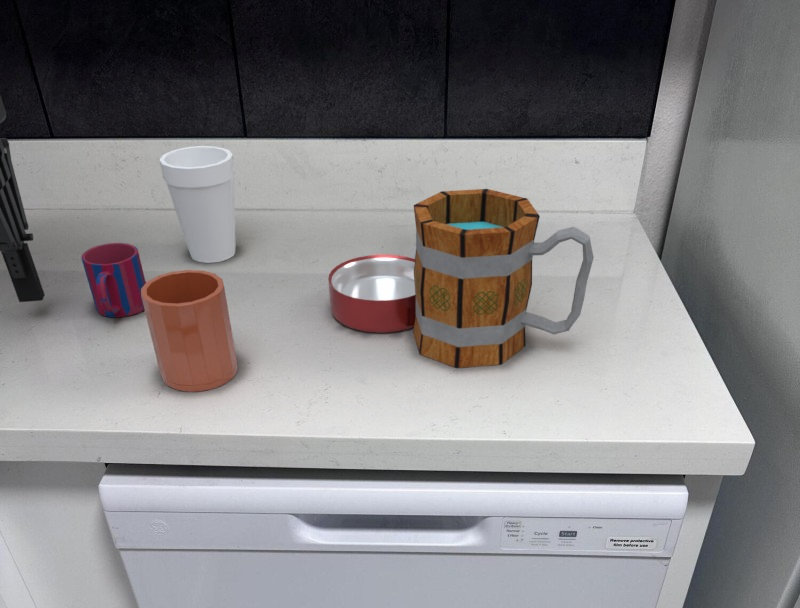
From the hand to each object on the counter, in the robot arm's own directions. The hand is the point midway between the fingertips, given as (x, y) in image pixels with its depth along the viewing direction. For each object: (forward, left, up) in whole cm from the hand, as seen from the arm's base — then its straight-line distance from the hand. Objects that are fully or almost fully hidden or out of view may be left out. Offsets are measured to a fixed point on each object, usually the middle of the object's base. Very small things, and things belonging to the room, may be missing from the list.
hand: (32, 298), depth 97 cm
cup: (+8, +6, -3) cm, 10 cm away
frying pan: (+34, +32, -3) cm, 47 cm away
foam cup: (+6, +26, -3) cm, 27 cm away
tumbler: (+26, 0, -3) cm, 26 cm away
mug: (+52, +22, -3) cm, 57 cm away
